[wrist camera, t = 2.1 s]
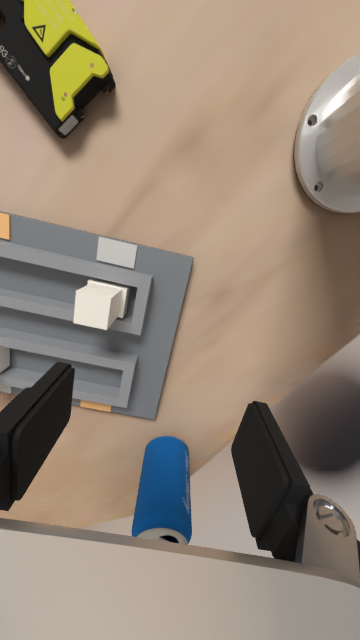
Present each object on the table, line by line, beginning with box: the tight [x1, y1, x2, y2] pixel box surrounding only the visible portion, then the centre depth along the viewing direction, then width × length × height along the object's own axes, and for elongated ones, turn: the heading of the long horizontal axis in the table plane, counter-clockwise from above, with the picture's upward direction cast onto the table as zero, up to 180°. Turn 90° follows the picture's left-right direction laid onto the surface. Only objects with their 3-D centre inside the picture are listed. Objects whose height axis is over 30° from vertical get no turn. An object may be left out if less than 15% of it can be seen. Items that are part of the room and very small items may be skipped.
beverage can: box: [132, 436, 192, 545], centre depth 30 cm, size 6×6×12 cm
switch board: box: [0, 211, 193, 420], centre depth 27 cm, size 30×22×3 cm
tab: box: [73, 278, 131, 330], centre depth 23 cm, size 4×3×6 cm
